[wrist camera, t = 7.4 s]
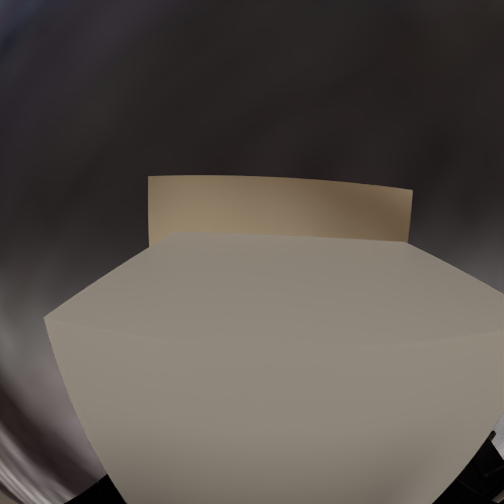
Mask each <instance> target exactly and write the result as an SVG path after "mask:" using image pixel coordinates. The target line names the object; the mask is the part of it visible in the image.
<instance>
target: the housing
mask: <svg viewBox="0 0 504 504" xmlns="http://www.w3.org/2000/svg"><path fill="white" fill-rule="evenodd" d="M44 320H45V324H46V328H47V332H48V335H49V339H50V342H51V346H52V349H53V352H54V356H55V359H56V362H57V365H58V368H59V371H60V374H61V376H62V379H63V382H64V385H65V387H66V390H67V392H68V395H69V397H70V400H71V402H72V405H73V407H74V409H75V412H76V414H77V416H78V418H79V421H80V423H81V425H82V427H83V429H84V431H85V433H86V435H87V437H88V439H89V441H90V443H91V445H92V447H93V449H94V451H95V453H96V455H97V456H98V458H99V460H100V462H101V464H102V465H103V467H104V469H105V470H106V472H107V474H108V475H109V477H110V479H111V480H112V482H113V483H114V485H115V487H116V488H117V490H118V491H119V493H120V494H121V496H122V497H123V499H124V500H125V501H126V503H127V504H432V503H433V502H434V501H435V500H436V499H437V498H438V497H439V496H440V495H441V494H442V493H443V492H444V491H445V490H446V488H447V487H448V486H449V485H450V484H451V483H452V482H453V481H454V480H455V478H456V477H457V476H458V475H459V474H460V473H461V471H462V470H463V469H464V468H465V466H466V465H467V464H468V463H469V461H470V460H471V459H472V458H473V456H474V455H475V454H476V452H477V451H478V450H479V448H480V447H481V446H482V444H483V443H484V441H485V440H486V438H487V437H488V436H489V434H490V433H491V431H492V430H493V428H494V426H495V425H496V423H497V422H498V420H499V419H500V417H501V415H502V414H503V412H504V294H502V293H500V292H499V291H497V290H495V289H494V288H492V287H490V286H488V285H487V284H485V283H483V282H481V281H479V280H478V279H476V278H474V277H472V276H470V275H469V274H467V273H465V272H463V271H461V270H459V269H457V268H456V267H454V266H452V265H450V264H448V263H446V262H444V261H442V260H440V259H438V258H436V257H434V256H432V255H430V254H428V253H426V252H424V251H422V250H420V249H418V248H416V247H414V246H412V245H410V244H408V243H406V242H397V241H381V240H364V239H347V238H328V237H308V236H287V235H264V234H239V233H211V232H179V231H175V232H174V233H172V234H170V235H169V236H167V237H165V238H164V239H162V240H160V241H159V242H157V243H155V244H154V245H152V246H150V247H149V248H147V249H146V250H144V251H142V252H141V253H139V254H138V255H136V256H134V257H133V258H131V259H130V260H128V261H126V262H125V263H123V264H122V265H120V266H119V267H117V268H115V269H114V270H112V271H111V272H109V273H108V274H106V275H105V276H103V277H102V278H100V279H99V280H97V281H96V282H94V283H93V284H91V285H90V286H88V287H87V288H85V289H84V290H82V291H81V292H79V293H78V294H76V295H75V296H73V297H72V298H70V299H69V300H68V301H66V302H65V303H63V304H62V305H60V306H59V307H58V308H56V309H55V310H53V311H52V312H50V313H49V314H48V315H46V316H45V317H44Z"/></svg>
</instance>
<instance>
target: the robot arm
mask: <svg viewBox="0 0 504 504" xmlns="http://www.w3.org/2000/svg"><path fill="white" fill-rule="evenodd" d="M495 435H496V433H495V431H491V433H490V434H489V436H488V437H487V438H486V440H485V441H484V443H483V444H482V446H481V447H480V448H479V450H478V451H477V452H476V454H475V455H474V456H473V458H472V459H471V460H470V461H469V463H468V464H467V465H466V466H465V468H464V469H463V470H462V471H461V473H460V474H459V475H458V476H457V477H456V478H455V480H454V481H453V482H452V483H451V484H450V485H449V486H448V487H447V488H446V490H445V491H444V492H443V493H442V494H441V495H440V496H439V497H438V498H437V499H436V500H435V501H434V502H433V503H432V504H504V499H503V500H502V501H501V502H499V503H497V502H498V501H500V500H501V499H502V498H503V497H504V460H503V459H502V457H501V456H500V454H499V453H498V451H497V450H496V448H495V447H494V445H493V444H492V442H491V441H492V439H493V438H494V437H495ZM64 504H127V503H126V501H125V500H124V499H123V497H122V496H121V494H120V493H119V491H118V490H117V488H116V487H115V485H114V483H113V482H112V480H111V479H110V477H109V475H108V474H107V475H105V476H104V477H103V478H101V479H100V480H99V481H98V482H96V483H95V484H94V485H92V486H91V487H90V488H88V489H87V490H85V491H84V492H83V493H81V494H80V495H78V496H77V497H75V498H73V499H71V500H70V501H68V502H66V503H64Z"/></svg>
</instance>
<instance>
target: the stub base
mask: <svg viewBox="0 0 504 504" xmlns="http://www.w3.org/2000/svg"><path fill="white" fill-rule="evenodd" d="M412 192H413V190H406V189H399V188H391V187H384V186H375V185H366V184H357V183H347V182H337V181H325V180H312V179H297V178H280V177H257V176H213V175H189V176H148V222H149V247H150V246H152V245H154V244H155V243H157V242H159V241H160V240H162V239H164V238H165V237H167V236H169V235H170V234H172V233H174V232H175V231H179V232H211V233H239V234H264V235H287V236H308V237H328V238H347V239H364V240H381V241H397V242H406V243H408V235H409V226H410V216H411V205H412Z"/></svg>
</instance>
